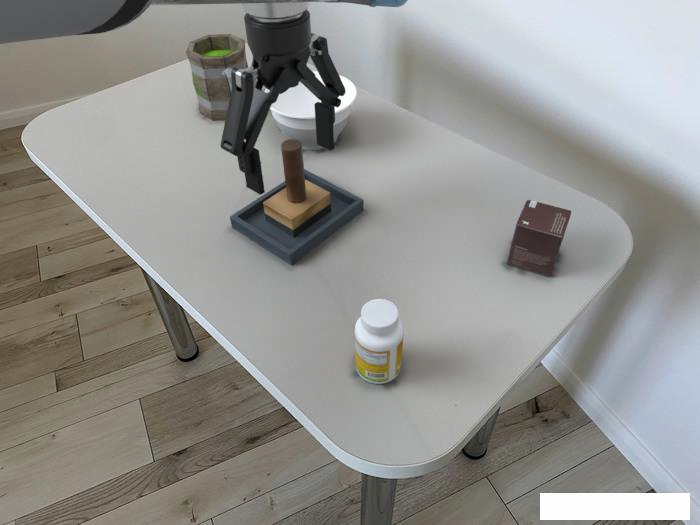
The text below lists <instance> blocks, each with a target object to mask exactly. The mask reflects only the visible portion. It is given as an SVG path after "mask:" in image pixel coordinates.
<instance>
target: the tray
mask: <svg viewBox="0 0 700 525" xmlns="http://www.w3.org/2000/svg"><path fill="white" fill-rule="evenodd" d="M304 175H305V179H306V180H307V181H309V182H311V183H313V184H315V185H317V186H319V187H321V188H322V189H324V190H326V191H328V192H330V197H331V211H330V212H329V213H328V214H326V215H325V216H323V217H322V218H321V219H319V220H318V221H317V222H315V223H314V224H312V225H311V226H310V227H308V228H307V229H306V230H304V231H303V232H302V233H300V234H299V235H297V236H296V237H295V238H293V237H292V236H290V235H289V234H287V233H285V232H284V231H282V230H280V229H279V228H277V227H275V226H274V225H272V224H270V223H269V222H267V221H266V219H265V212H264V206H263V202H265V201H266V200H268V199H269V198H271V197H272V196H274V195H275V194H277V193H278V192H280V191H281V190H283V189H284V188H286V183H285V180H284V181H283V182H281V183H280V184H278V185H276V186H275V187H273V188H272V189H270V190H269V191H267V192H265V193H263V194H262V195H261V196H260V197H258V198H256V199H255V200H253V201H251V202H250V203H249V204H247V205H246V206H243V207H242V208H241V209H239V210H237V211H235V212H234V213H233V214H231V215H230V216H229V219H230V220H229V221H230V224H231V228H232V229H233V230H235V231H237V232H239V233H240V234H242V235H244V236H245V237H246V238H247V239H250V240H251V241H252V242H254V243H256V244H257V245H259V246H260V247H262V248H264V249H265V250H266V251H268V252H270V253H271V254H273V255H274V256H275V257H278V258H279V259H281V260H282V261H283V262H285V263H287V264H288V265H290V266H293V265H294V264H295V263H297V262H298V261H299V260H301V259H302V258H304V256H306V255H307V254H308V253H310V252H311V251H312V250H314V249H315V248H316V247H317V246H319V245H320V244H322V243H323V242H325V241H326V240H327V239H328V238H329V237H331V236H332V235H333V234H335V233H336V232H338V231H339V230H340V229H341V228H343V227H344V226H345V225H346V224H348V223H350V222H351V221H352V220H353V219H354V218H356V217H357V216H358V215H360V214H361V213H362V212H364V206H365V205H364V204H365V203H364V201H365V200H364V199H363V198H360V197H359V196H357V195H355V194H354V193H351V192H349V191H348V190H345V189H344V188H342V187H340V186H338V185H336V184H334V183H332V182H330V181H328V180H326V179H324V178H322V177H321V176H319V175H317V174H315V173H313V172H311V171H309V170H308V169H305V168H304Z"/></svg>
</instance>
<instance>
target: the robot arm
mask: <svg viewBox="0 0 700 525" xmlns="http://www.w3.org/2000/svg"><path fill="white" fill-rule="evenodd" d="M408 1H409V0H0V45H3V44H10V43H19V42H27V41H28V42H29V41H37V40H45V39H54V38H61V37H71V36H83V35H84V36H85V35H98V34H103V33H109V32H113V31H116V30H120V29H121V28H123V27H126V26H128V25H130V24H131V23H132V22H134V21H135V20H137V19H138V18H139V17H141V16H142V14H144V13H145V12H146V10H148V8H149V7H150V6H179V5H180V6H183V5H184V6H185V5H187V6H188V5H225V4H226V5H229V4H230V5H232V4H242V5H241V6H242V9H243V11H244V12H245V14H244V16H243V20H244V21H243V22H244V28H245V35H246V43H247V46H248V48H249V50H250V52H251V54H252V61H251V65H250V66H248V68H245V69H240V68H237V67H234V68H233V69H232V71H231V79H232V91H231V95H230V100H229V105H228V110H227V115H226V120H224V125H223V130H222V135H221V140H220V148H221V150H224V151H226V152H228V153H229V154H231V155H234V156H235V157H237V163H238V168H239V171H240V172H242V173H243V174H244V178H245V184H246V188H248V189H250V190H251V191H253V192H255V193H257V194H258V195H259V196H260V195H261V196H262V195H264V194H266V190H265V183H264V177H263V171H262V170H263V169H262V162H261V157H260V156H261V155H260V151H259V150H260V149H258V148H256V147H255V146H256V143H257V141H258V138H259V136H260V133H261V132H262V129H263V126H264V125H265V122H266V119H267V116H268V114H269V112H270V111H271V109H270V107H271V105H272V104H273V103H275V102H276V101H277V98H278V96H279V94H282V93H284V92H286V91H287V90H288V89H289V88H292V87H296V86H297V85H299V81H300V82H301V83H302V84H303V85H304V86H305V87H306V88H307V89H308V90H309V91H310V92H312V93H313V94H314V95H315V96H316V97H317V98H318V99H319V100H321V103H320V102H317V103H315V104H314V105H315V121H316V138H317V145H319V146H322V147H324V148H323V149H326V150H328V151H330V152H331V151H333V150H334V149H335V143H334V134H333V124H334V123H335V107H339V106H340V105H341V99H339V98H338V97H339V96H344V94H345V92H346V90H345V87H344V85H343V83H342V81H341V79H340V77H339V75H340V74H339V72H338V69H337V67H336V66H335V63H334V62H333V59H332V57H331V55H330V53H329V45H328V39H327V37H324V36H321V35H319V34H315V33H313V32H312V26H311V24H312V23H311V13H310V11H309V10H308V9H309V7H310V6H311V4H310V3H328V4H329V3H333V4H334V3H335V4H336V3H346V4H353V5H354V4H355V5H362V6H369V7H370V8H376V7H386V8H387V7H388V8H400V7H402V6H405V4H406V3H407V2H408ZM309 59H311V61H312V63H313V65H314V67H315V69H316V71H318V73H319V75H320V77H321V79H322V81H323V83H324V85H325V86H326V87H325V86H324V85H323V84H322V83H321V82H320V81H319V80H318V79H317V78H316V77H315V74H314V73H313V72H312V71H313V70H311V68H310V67H309V66H308V65H307V64H308V62H309ZM263 88H265V89H266V88H267V89H268V90H270V91H269V93H266V92H265V91H263Z"/></svg>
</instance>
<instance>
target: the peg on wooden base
mask: <svg viewBox="0 0 700 525" xmlns="http://www.w3.org/2000/svg"><path fill="white" fill-rule="evenodd" d="M280 148H281V150H280V151H281V158H282V165H283V173H284V175H283V176H284V181H285V183H286V188H284V189H283V190H281V191H280V192H278V193H277V194H275V195H274V196H272V197H271V198H269V199H268V200H266V201H265V202H263V206H264V212H265V219H266V221H267V222H269V223H270V224H272V225H274V226H275V227H277V228H279V229H280V230H282V231H284V232H285V233H287V234H289V235H290V236H292V237H293V238H295V237H296V236H297V235H299V234H300V233H302V232H303V231H304V230H306V229H307V228H308V227H310V226H311V225H312V224H314V223H315V222H317V221H318V220H319V219H321V218H322V217H323V216H325V215H326V214H328V213H329V212H330V211H331V197H330V192H328V191H326V190H324V189H322V188H321V187H319V186H317V185H315V184H313V183H311V182H309V181H307V180H306V179H305V175H304V169H305V166H304V165H305V164H304V153H303V149H302V143H301V142H300V141H299V140H296V139H289V138H288V139H285V140H284V141H283V142H281V144H280Z"/></svg>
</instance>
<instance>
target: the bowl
mask: <svg viewBox="0 0 700 525" xmlns="http://www.w3.org/2000/svg"><path fill="white" fill-rule="evenodd" d="M311 71H312V72H313V73H314V74H315V77H316V78H317V79H318V80H319V81H320V82H321V83H322V84H323V85H324V83H323V81H322V79H321V77H320V75H319V73H318V71H317V70H311ZM339 77H340V79H341V81H342V83H343V85H344V87H345V90H346V92H345V94H344V96H339V97H338V98H339V99H341V105H340V106H339V107H335V123H334V124H333V134H334V144H335V143H336V142H337V140H338V137H339V135H340V134H341V132H342V131H343V130H344V128H345V126H346V125H347V123H348V121H349V119H350V115H351V111H352V106H353V104H354V103H355V102H356V101H357V98H358V93H359V92H358V89H357V86H356V85H355V84H354V82H353V81H351V80H350V79H349V78H348V77H345V76H343V75H340V74H339ZM324 86H325V85H324ZM325 87H326V86H325ZM269 91H270V90H268V89H267V88H265V90H264V92H266V93H269ZM317 102H320V103H321V100H319V99H318V98H317V97H316V96H315V95H314V94H313V93H312V92H310V91H309V90H308V89H307V88H306V87H305V86H304V85H303V84H302V83H301V82H300V81H299V85H297V86H296V87H292V88H289V89H288V90H287V91H286V92H284V93H282V94H279V96H278V98H277V101H276V102H275V103H273V104H272V105H271V107H270V111H271V115H272V117H273V119H274V122H275V124H276V125H277V127H278V128H279V130H280V131H281V132H282V133H283V134H284V135H285V136H286V137H287V138H288V140H289V139H296V140H299V141H300V142H301V143H302V150H307V151H317V150H318V151H319V150H324V149H325V148H324V147H322V146H319V145H317V138H316V121H315V105H314V104H315V103H317Z"/></svg>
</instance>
